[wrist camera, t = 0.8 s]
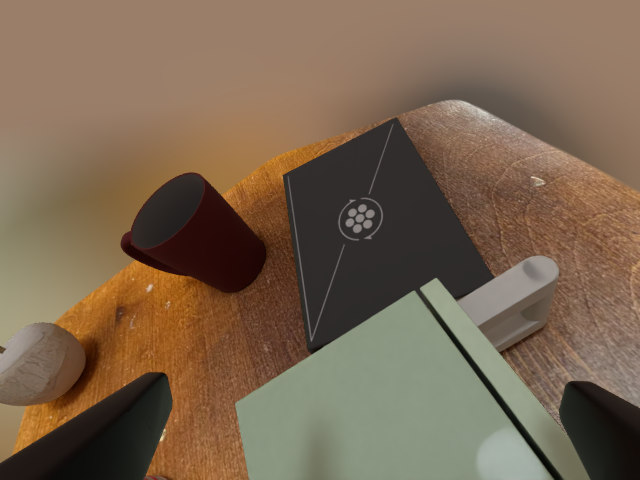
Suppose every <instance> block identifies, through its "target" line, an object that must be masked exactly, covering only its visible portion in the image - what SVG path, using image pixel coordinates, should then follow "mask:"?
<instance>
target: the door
mask: <svg viewBox="0 0 640 480" xmlns="http://www.w3.org/2000/svg"><path fill="white" fill-rule="evenodd" d="M558 276H559V268H558V265H557V264H556V263H555V262H554V261H553V260H552V259H550V258H548V257H545V256H532V257H529V258H528V259H525V260H524V261H522V262H520V263H519V264H517V265H515V266H514V267H512V268H511V269H509V270H507V271H506V272H504V273H502V274H501V275H499V276H498V277H496V278H494V279H493V280H491V281H490V282H488V283H486V284H485V285H483V286H481V287H480V288H478V289H477V290H475V291H473V292H472V293H470V294H468V295H467V296H465V297H464V298H462V299H460V300H459V301H457V302H456V300H455V299H454V298H453V297H452V295H451V294H450V293H449V292H448V291H447V289H446V288H445V287H444V286H443V285H442V283H441V282H440V281H439V280H438V279H437V278H435V279H433V280H432V281H430V282H429V283H427V284H426V285H424V286H422V287H421V288H420V291H421V293H422V295H423V297H424V299H425V301H426V303H427V305H428V307H429V309H430V311H431V313H432V315H433V316H434V317H435V319H436V320H437V321H438V323H439V324H440V325H441V327H442V328H443V330H444V331H445V332H446V334H447V335H448V336H449V338H450V339H451V340H452V342H453V343H454V344H455V346H456V347H457V348H458V350H459V351H460V353H461V354H462V355H463V357H464V358H465V359H466V361H467V362H468V363H469V365H470V366H471V367H472V369H473V370H474V372H475V373H476V374H477V376H478V377H479V378H480V380H481V381H482V382H483V384H484V385H485V386H486V388H487V389H488V390H489V392H490V393H491V395H492V396H493V397H494V399H495V400H496V401H497V403H498V404H499V405H500V407H501V408H502V409H503V411H504V412H505V414H506V415H507V416H508V418H509V419H510V420H511V422H512V423H513V424H514V426H515V427H516V428H517V430H518V431H519V432H520V434H521V435H522V437H523V438H524V439H525V441H526V442H527V443H528V445H529V446H530V447H531V449H532V450H533V451H534V453H535V454H536V456H537V457H538V458H539V460H540V461H541V462H542V464H543V465H544V466H545V468H546V469H547V470H548V472H549V473H550V474H551V476H552V477H553V479H554V480H590V478H589V476H588V474H587V472H586V470H585V468H584V466H583V464H582V462H581V460H580V458H579V456H578V454H577V452H576V450H575V448H574V446H573V444H572V442H571V440H570V438H569V437H568V436H567V434H566V433H565V432H564V431H563V429H562V428H561V427H560V426H559V425H558V423H557V422H556V421H555V420H554V419H553V417H552V416H551V415H550V414H549V413H548V411H547V410H546V409H545V408H544V407H543V405H542V404H541V403H540V402H539V401H538V399H537V398H536V397H535V396H534V394H533V393H532V392H531V391H530V390H529V388H528V387H527V386H526V385H525V384H524V382H523V381H522V380H521V379H520V378H519V376H518V375H517V374H516V373H515V372H514V370H513V369H512V368H511V367H510V366H509V364H508V363H507V362H506V361H505V359H504V358H503V357H502V356H501V355H500V353H499V352H501V351H503V350H505V349H506V348H508V347H510V346H511V345H513V344H515V343H516V342H518V341H520V340H521V339H523V338H525V337H526V336H528V335H530V334H532V333H533V332H535V331H537V330H538V329H540V328H541V327H543V326H544V325H545V324H546V322H547V318H548V314H549V310H550V306H551V303H552V299H553V295H554V291H555V287H556V283H557V280H558Z"/></svg>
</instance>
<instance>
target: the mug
mask: <svg viewBox="0 0 640 480" xmlns="http://www.w3.org/2000/svg"><path fill="white" fill-rule="evenodd" d="M131 243H132V244H131ZM121 248H122V250H123V251H124V252H125V253H126V254H127V255H129V256H130V257H132V258H134V259H135V260H137V261H139V262H141V263H143V264H146V265H148V266H150V267H153V268H155V269H158V270H161V271H164V272H168V273H172V274H176V275H182V276H191V277H193V278H195V279H197V280H199V281H201V282H204V283H206V284H208V285H210V286H212V287H214V288H216V289H219V290H221V291H223V292H235V291H238V290H240V289H242V288H244V287H246V286H247V285H248V284H250V283H251V282H252V281H253V280H254V279H255V277H256V276H257V275H258V273H259V272H260V270H261V268H262V266H263V264H264V260H265V247H264V245H263V243H262V242H261V241H260V239H259V238H258V237H257V236H256V235H255V233H254V232H253V231H252V230H251V229H250V228H249V227H248V225H247V224H246V223H245V222H244V221H243V220H242V219H241V217H240V216H239V215H238V214H237V213H236V212H235V211H234V209H233V208H232V207H231V206H230V205H229V204H228V203H227V202H226V200H225V199H224V198H223V197H222V196H221V195H220V194H219V193H218V192H217V191H216V190H215V189H214V188H213V187H212V186H211V184H209V182H208V181H206V180H205V179H204V178H203V177H202V176H201V175H200V174H198V173H185V174H182V175H179V176H177V177H175V178H173V179H172V180H170V181H168V182H167V183H165V184H164V185H162V186H161V187H160V188H159V189H158V190H157V191H156V192H155V193H154V194H153V195H152V196H151V197H150V198H149V199H148V200H147V201H146V203H145V204H144V205H143V206H142V208H141V209H140V211H139V212H138V214H137V216H136V218H135V220H134V222H133V225H132V228H131V231H130V232H127V233H125V234H124V235H123V237H122V240H121Z"/></svg>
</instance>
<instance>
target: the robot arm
mask: <svg viewBox="0 0 640 480" xmlns="http://www.w3.org/2000/svg"><path fill="white" fill-rule="evenodd" d="M171 409H172V395H171V391H170V386H169V381H168V377H167V375H166V374H165V373H162V372H149V373H146V374H144V375H142V376H141V377H139V378H137V379H136V380H134V381H132V382H131V383H129V384H128V385H126V386H124V387H123V388H121V389H120V390H118V391H116V392H115V393H113V394H111V395H110V396H108V397H107V398H105V399H103V400H102V401H100V402H99V403H97V404H95V405H94V406H92V407H90V408H89V409H87V410H86V411H84V412H82V413H81V414H79V415H77V416H76V417H74V418H73V419H71V420H69V421H68V422H66V423H65V424H63V425H61V426H60V427H58V428H56V429H55V430H53V431H52V432H50V433H48V434H47V435H45V436H43V437H42V438H40V439H39V440H37V441H35V442H34V443H32V444H31V445H29V446H27V447H26V448H24V449H22V450H21V451H19V452H18V453H16V454H14V455H13V456H11V457H9V458H8V459H6V460H5V461H3V462H1V463H0V480H144V478H145V476H146V473H147V471H148V468H149V466H150V463H151V461H152V458H153V456H154V453H155V451H156V448H157V445H158V443H159V440H160V438H161V435H162V433H163V430H164V428H165V425H166V423H167V420H168V418H169V415H170V412H171ZM559 415H560V419H561V422H562V425H563V427H564V428H565V430H566V432H567V434H568V436H569V438H570V440H571V442H572V444H573V446H574V448H575V450H576V452H577V454H578V456H579V458H580V460H581V462H582V464H583V466H584V468H585V470H586V472H587V474H588V476H589V478H590V480H640V408H638V407H637V406H635V405H633V404H631V403H629V402H627V401H625V400H624V399H622V398H620V397H618V396H616V395H614V394H613V393H611V392H609V391H607V390H605V389H603V388H601V387H600V386H598V385H596V384H594V383H592V382H588V381H570V382H568V383H567V384H566V386H565V390H564V394H563V397H562V401H561V405H560V409H559Z"/></svg>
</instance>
